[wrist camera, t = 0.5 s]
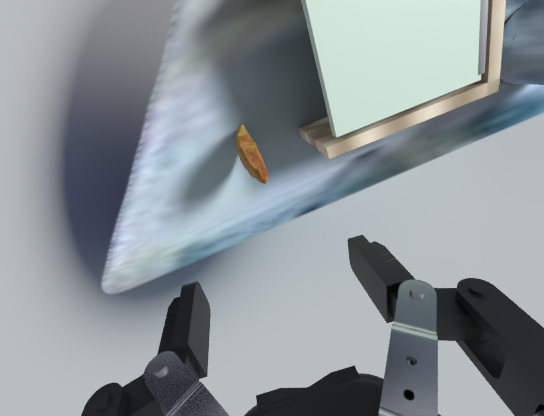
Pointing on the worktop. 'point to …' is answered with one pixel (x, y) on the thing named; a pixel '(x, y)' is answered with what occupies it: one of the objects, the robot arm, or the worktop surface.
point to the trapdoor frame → (333, 146)
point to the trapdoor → (393, 54)
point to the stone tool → (250, 155)
